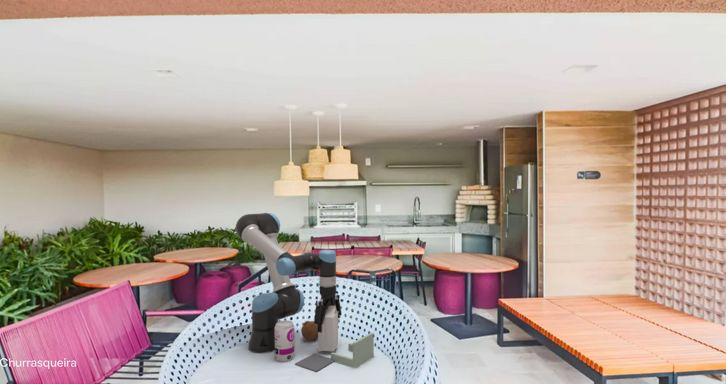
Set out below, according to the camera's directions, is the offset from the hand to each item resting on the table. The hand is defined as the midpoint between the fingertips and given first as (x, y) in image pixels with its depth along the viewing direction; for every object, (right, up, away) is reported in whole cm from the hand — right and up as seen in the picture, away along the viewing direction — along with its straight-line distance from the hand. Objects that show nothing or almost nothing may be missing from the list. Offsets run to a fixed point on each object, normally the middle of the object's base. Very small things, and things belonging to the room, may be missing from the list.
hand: (328, 335), depth 170 cm
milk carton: (0, -6, 0) cm, 6 cm away
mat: (-4, -7, -12) cm, 14 cm away
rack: (+11, -7, -7) cm, 15 cm away
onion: (-10, -7, +14) cm, 18 cm away
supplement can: (-18, -7, -7) cm, 21 cm away
